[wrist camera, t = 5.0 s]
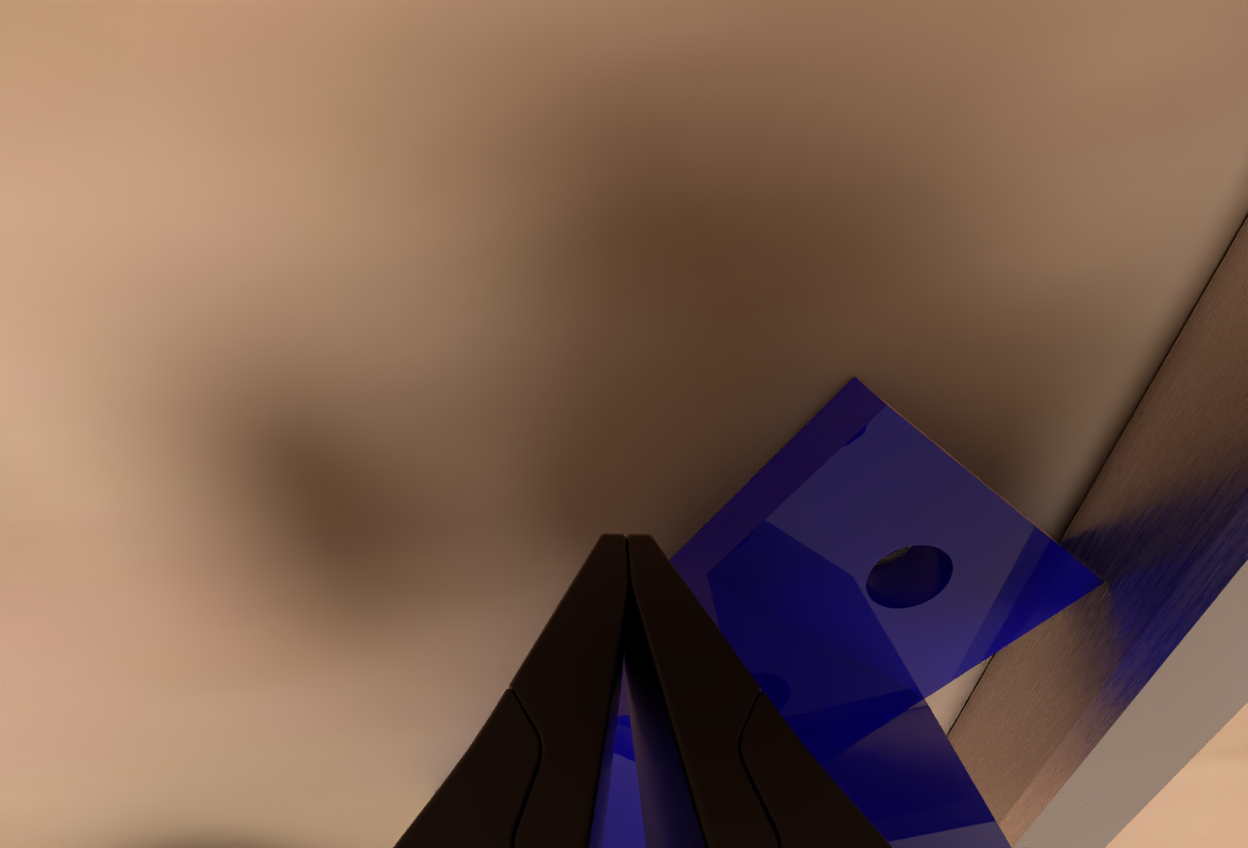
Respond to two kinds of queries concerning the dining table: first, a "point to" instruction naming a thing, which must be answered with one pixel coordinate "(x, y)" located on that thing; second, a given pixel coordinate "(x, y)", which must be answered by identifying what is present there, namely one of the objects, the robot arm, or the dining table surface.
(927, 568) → the mounting bracket
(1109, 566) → the rail
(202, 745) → the dining table surface
